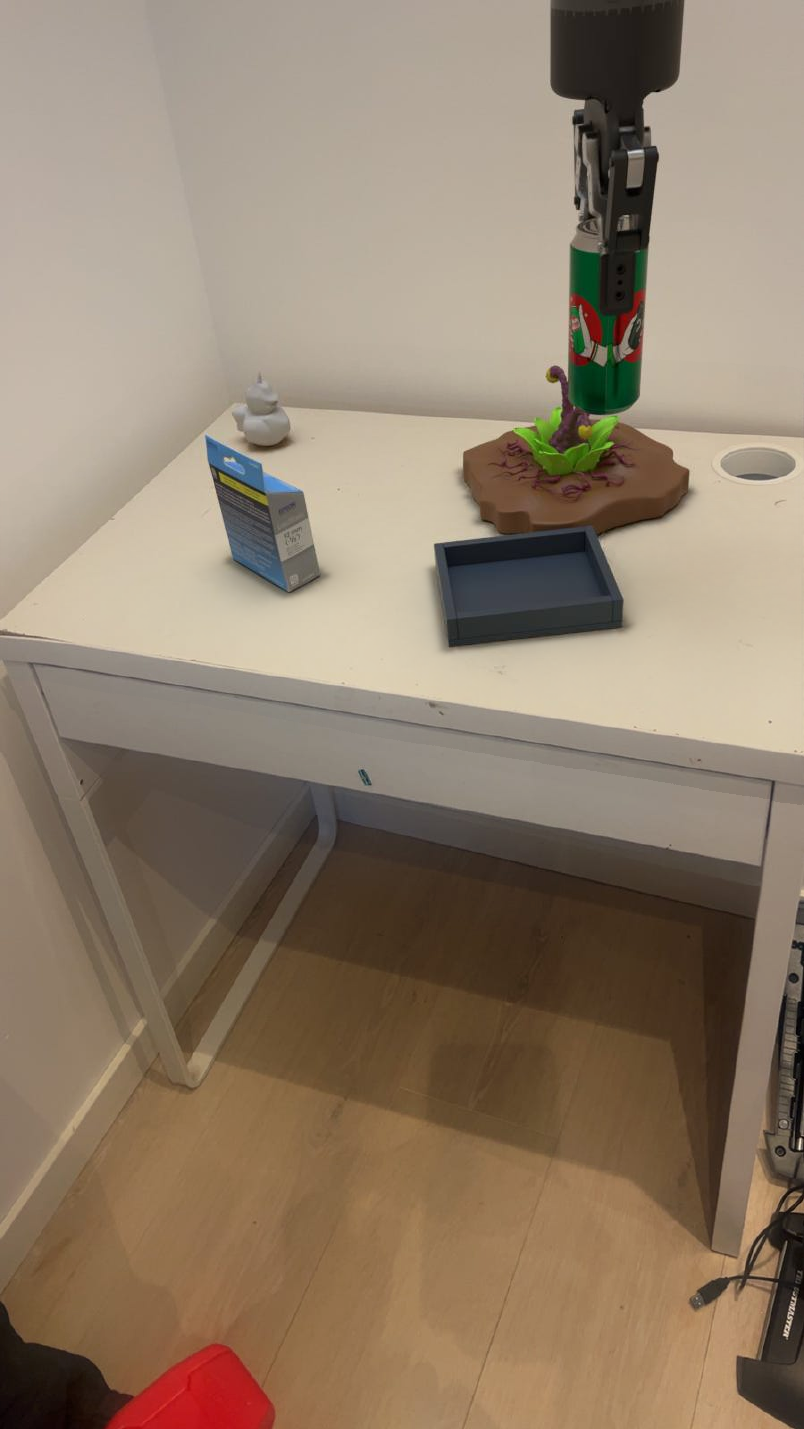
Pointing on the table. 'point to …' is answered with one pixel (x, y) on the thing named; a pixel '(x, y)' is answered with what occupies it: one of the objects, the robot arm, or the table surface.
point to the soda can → (602, 331)
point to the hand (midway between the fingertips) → (606, 297)
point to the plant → (572, 473)
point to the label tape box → (263, 518)
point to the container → (526, 586)
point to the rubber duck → (262, 415)
